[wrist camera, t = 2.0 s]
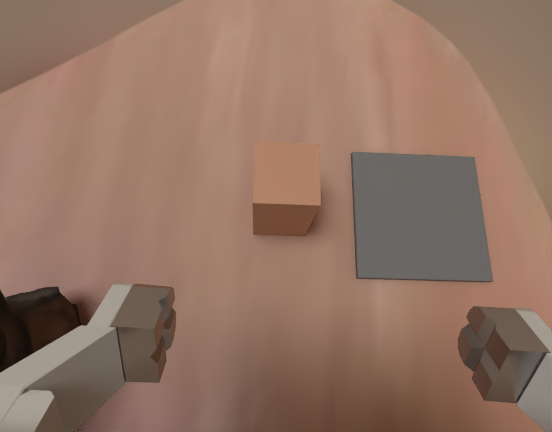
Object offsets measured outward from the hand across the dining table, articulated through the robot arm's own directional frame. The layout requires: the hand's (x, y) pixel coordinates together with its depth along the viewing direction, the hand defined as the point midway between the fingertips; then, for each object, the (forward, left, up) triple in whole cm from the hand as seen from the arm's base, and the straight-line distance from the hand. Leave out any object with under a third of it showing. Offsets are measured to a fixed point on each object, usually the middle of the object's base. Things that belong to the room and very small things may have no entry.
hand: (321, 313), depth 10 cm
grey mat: (+12, -15, -27) cm, 34 cm away
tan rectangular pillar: (+12, 0, -27) cm, 30 cm away
